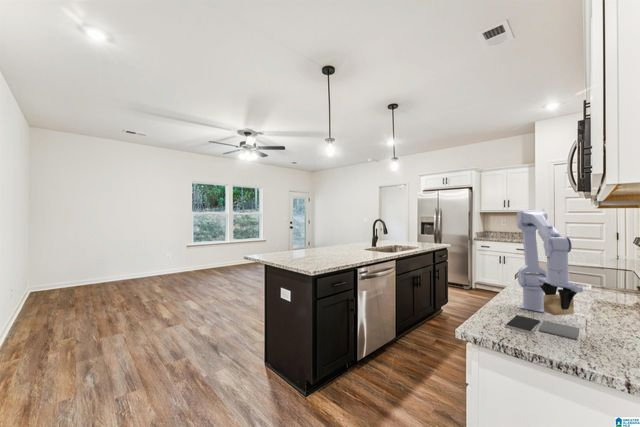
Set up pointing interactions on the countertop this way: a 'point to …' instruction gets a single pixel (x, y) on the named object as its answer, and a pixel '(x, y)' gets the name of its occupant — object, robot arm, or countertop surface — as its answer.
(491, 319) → the countertop surface
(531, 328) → the smartphone
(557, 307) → the oak slab
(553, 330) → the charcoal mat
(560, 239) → the robot arm
